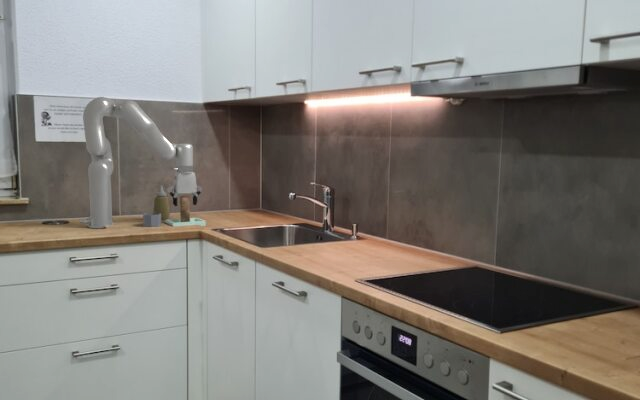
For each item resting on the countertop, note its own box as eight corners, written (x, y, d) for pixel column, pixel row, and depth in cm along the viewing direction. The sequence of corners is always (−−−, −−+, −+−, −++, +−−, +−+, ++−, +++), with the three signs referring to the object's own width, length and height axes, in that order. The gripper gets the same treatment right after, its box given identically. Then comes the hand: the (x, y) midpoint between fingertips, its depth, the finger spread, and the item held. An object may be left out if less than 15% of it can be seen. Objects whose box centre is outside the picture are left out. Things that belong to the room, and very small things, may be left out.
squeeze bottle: (172, 220, 296) (171, 184, 294) (166, 222, 288) (166, 186, 286) (156, 219, 297) (156, 184, 295) (150, 221, 289) (150, 185, 287)
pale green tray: (173, 228, 271) (173, 223, 270) (165, 224, 281) (165, 219, 281) (205, 225, 279) (205, 220, 279) (196, 222, 289) (196, 217, 289)
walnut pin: (182, 224, 277) (181, 197, 275) (179, 223, 281) (178, 196, 279) (191, 223, 279) (190, 196, 278) (188, 222, 283) (187, 195, 282)
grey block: (145, 229, 266) (145, 215, 265) (140, 227, 273) (140, 213, 272) (163, 228, 270) (163, 214, 270) (158, 225, 277) (158, 212, 277)
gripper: (169, 170, 269) (169, 207, 271) (205, 169, 278) (205, 205, 280) (164, 169, 276) (165, 205, 278) (199, 168, 285) (199, 203, 287)
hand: (185, 205), depth 279 cm, fingers open, 9 cm apart
